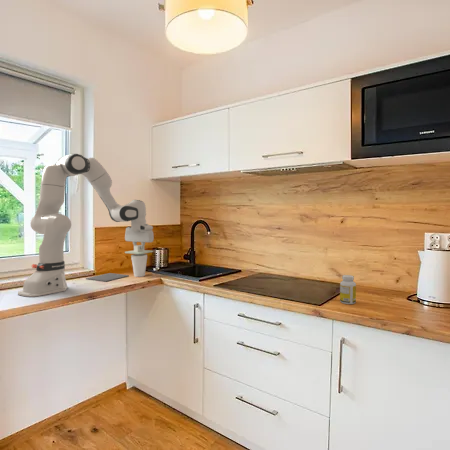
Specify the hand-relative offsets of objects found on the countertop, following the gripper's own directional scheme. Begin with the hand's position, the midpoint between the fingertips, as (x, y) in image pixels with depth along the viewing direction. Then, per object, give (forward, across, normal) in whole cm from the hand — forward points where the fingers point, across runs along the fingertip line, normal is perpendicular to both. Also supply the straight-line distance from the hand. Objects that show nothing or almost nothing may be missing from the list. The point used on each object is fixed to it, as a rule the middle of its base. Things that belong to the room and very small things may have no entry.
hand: (139, 249), depth 206 cm
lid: (+2, 0, 0) cm, 2 cm away
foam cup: (+17, 0, 0) cm, 17 cm away
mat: (+16, -13, -13) cm, 25 cm away
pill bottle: (+17, +122, -4) cm, 123 cm away
